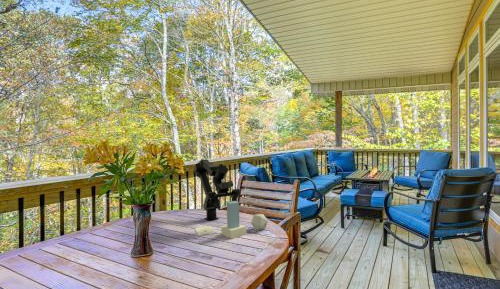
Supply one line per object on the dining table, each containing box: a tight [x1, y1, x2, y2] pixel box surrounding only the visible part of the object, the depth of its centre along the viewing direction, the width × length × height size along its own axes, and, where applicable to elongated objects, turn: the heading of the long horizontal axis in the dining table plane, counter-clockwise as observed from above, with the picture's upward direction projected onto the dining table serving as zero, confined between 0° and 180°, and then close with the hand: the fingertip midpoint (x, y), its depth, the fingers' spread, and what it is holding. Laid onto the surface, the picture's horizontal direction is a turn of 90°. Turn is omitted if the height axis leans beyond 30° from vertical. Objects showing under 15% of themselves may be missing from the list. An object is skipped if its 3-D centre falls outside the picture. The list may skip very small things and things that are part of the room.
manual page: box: [194, 225, 217, 236], centre depth 156 cm, size 12×9×1 cm
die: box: [250, 213, 269, 231], centre depth 156 cm, size 8×9×10 cm
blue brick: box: [226, 200, 241, 228], centre depth 149 cm, size 4×5×12 cm
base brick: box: [220, 223, 247, 240], centre depth 149 cm, size 9×9×4 cm
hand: (228, 208), depth 154 cm, fingers open, 9 cm apart
